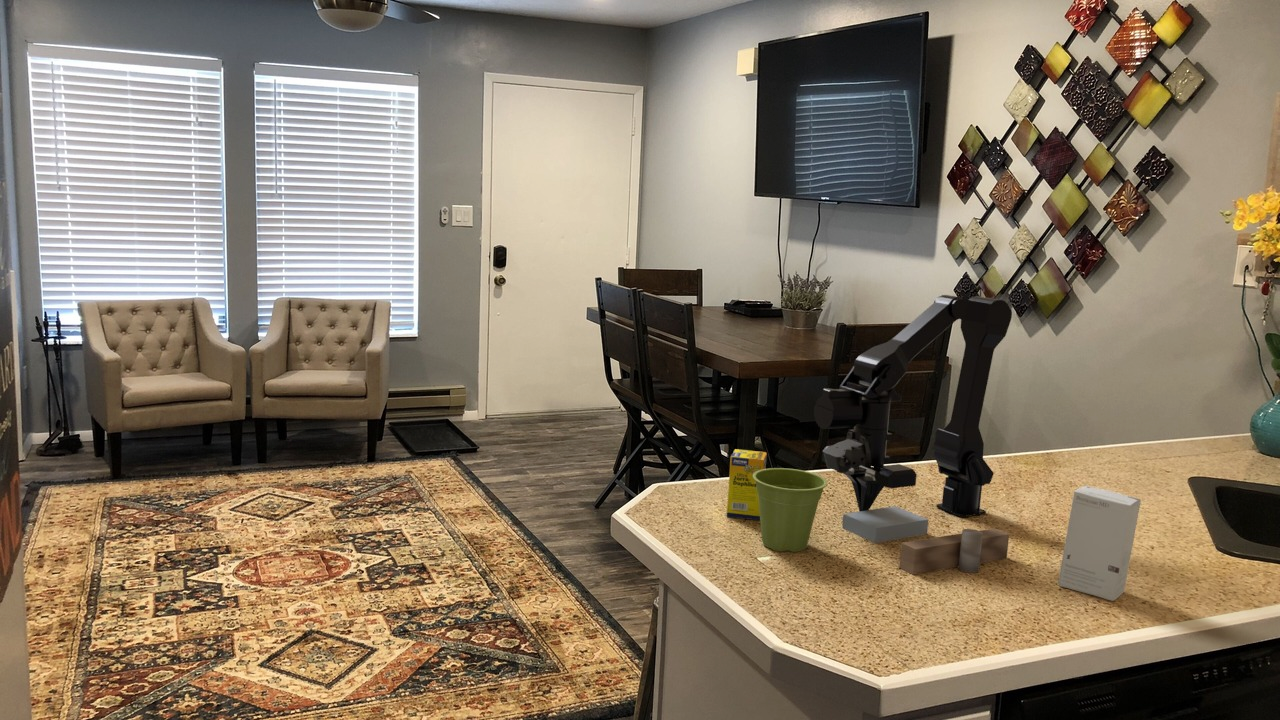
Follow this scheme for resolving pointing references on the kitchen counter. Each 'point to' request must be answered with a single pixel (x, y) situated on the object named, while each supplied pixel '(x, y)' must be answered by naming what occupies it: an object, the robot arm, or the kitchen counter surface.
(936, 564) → the walnut bar
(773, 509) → the plant pot
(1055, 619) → the kitchen counter surface
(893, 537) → the slate plate
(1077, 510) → the skincare box
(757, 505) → the supplement box
